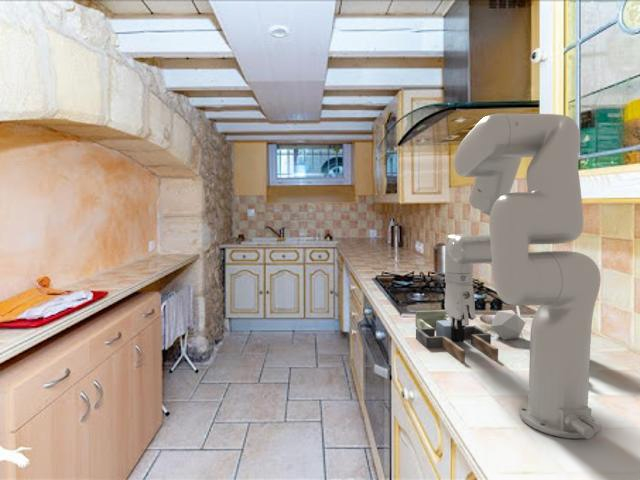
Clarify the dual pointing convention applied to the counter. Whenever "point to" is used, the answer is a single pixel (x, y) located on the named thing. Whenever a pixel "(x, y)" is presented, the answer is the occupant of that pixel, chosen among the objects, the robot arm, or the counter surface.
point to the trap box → (429, 340)
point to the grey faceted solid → (507, 324)
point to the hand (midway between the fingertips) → (457, 341)
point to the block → (444, 328)
